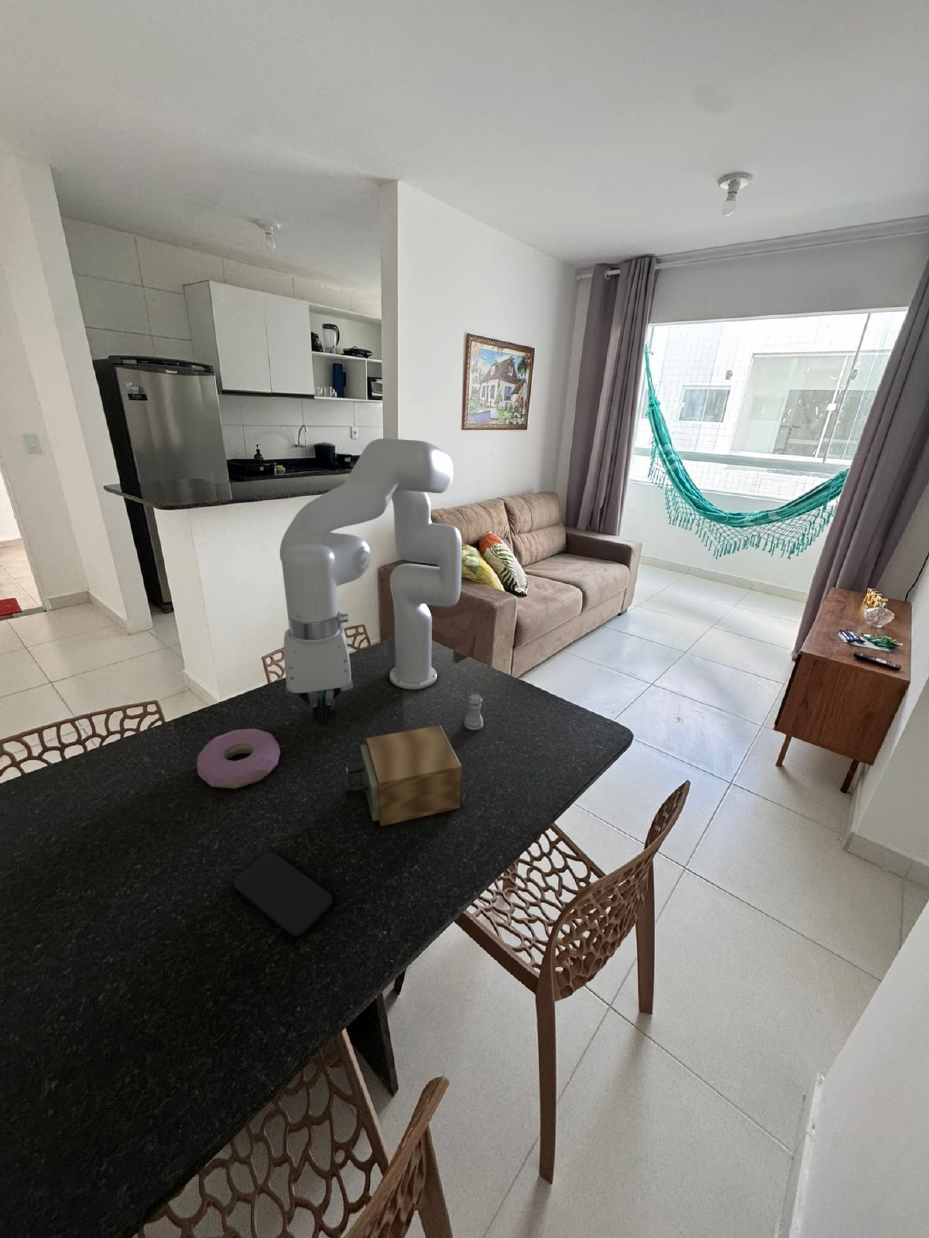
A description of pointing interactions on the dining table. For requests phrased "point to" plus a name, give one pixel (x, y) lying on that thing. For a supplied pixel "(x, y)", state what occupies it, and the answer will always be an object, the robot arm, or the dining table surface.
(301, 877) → the phone
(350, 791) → the drawer
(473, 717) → the rook chess piece
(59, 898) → the dining table surface
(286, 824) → the dining table surface
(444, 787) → the cabinet
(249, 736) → the donut
